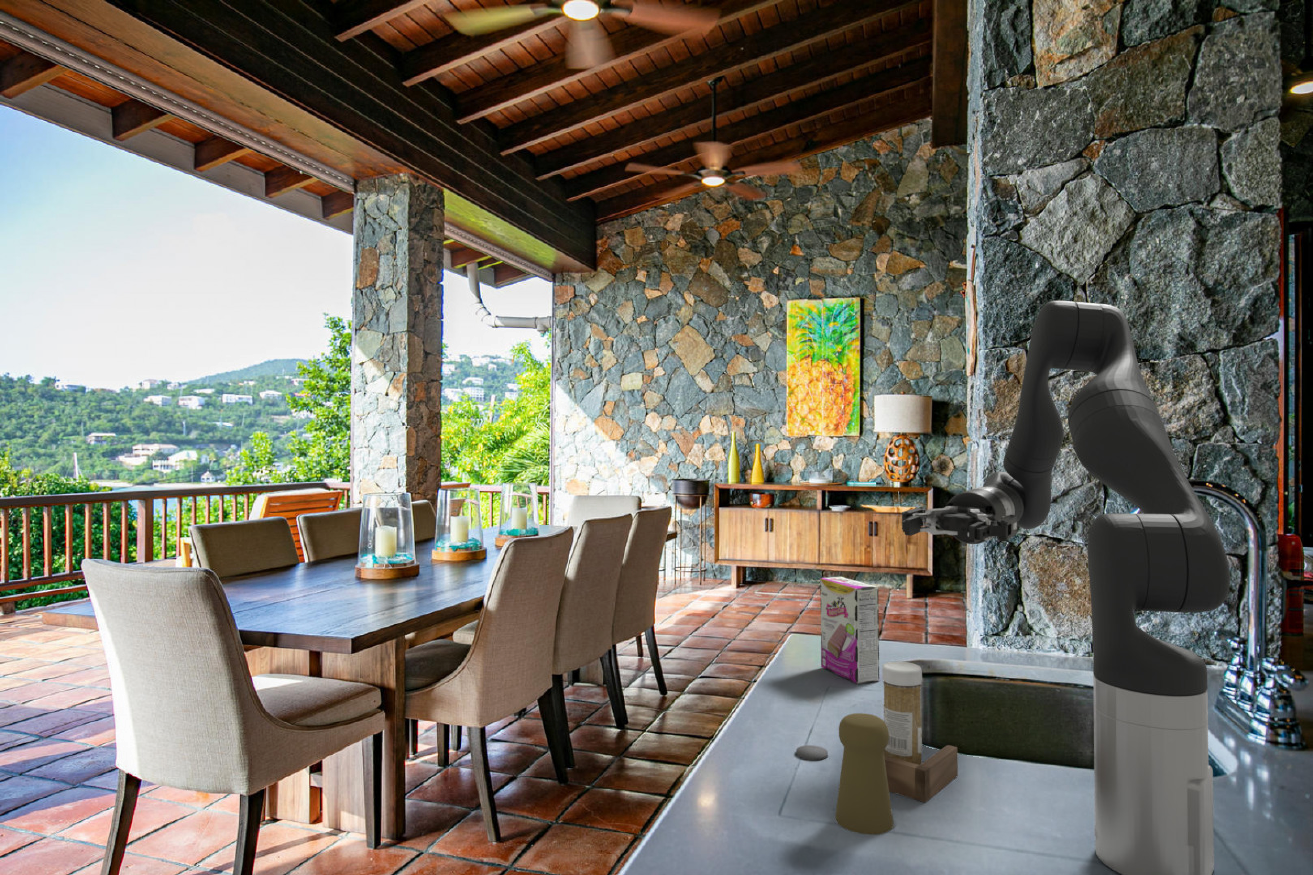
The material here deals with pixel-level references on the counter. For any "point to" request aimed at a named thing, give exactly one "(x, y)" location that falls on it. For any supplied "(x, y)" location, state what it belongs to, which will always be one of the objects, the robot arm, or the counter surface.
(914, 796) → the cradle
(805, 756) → the disc
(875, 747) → the cork
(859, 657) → the candy bar box
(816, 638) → the counter surface
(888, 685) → the spice jar
